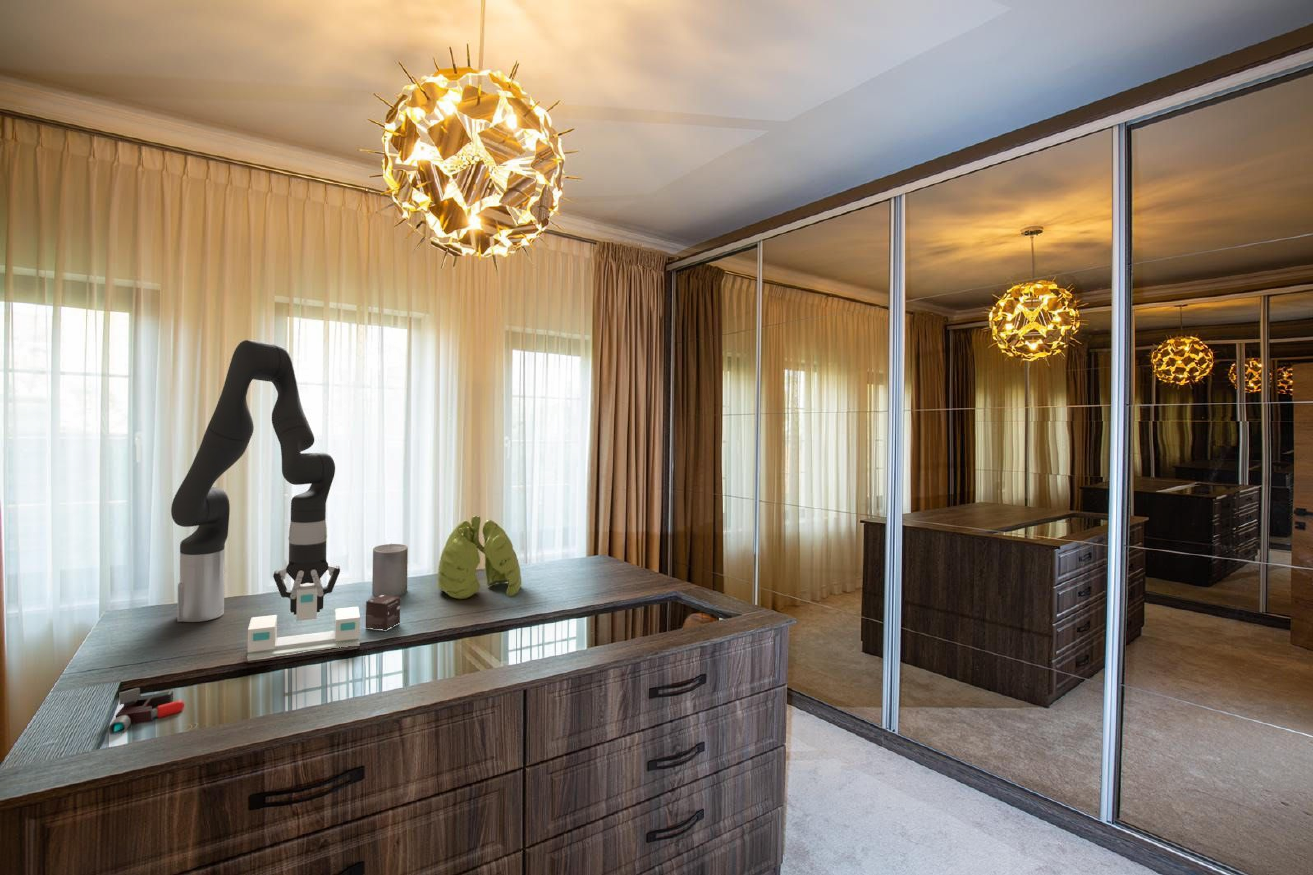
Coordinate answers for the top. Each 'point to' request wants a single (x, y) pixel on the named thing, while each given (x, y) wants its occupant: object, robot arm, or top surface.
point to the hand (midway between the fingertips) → (306, 612)
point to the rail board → (268, 644)
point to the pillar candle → (390, 570)
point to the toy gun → (143, 708)
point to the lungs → (477, 560)
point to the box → (382, 612)
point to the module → (306, 602)
